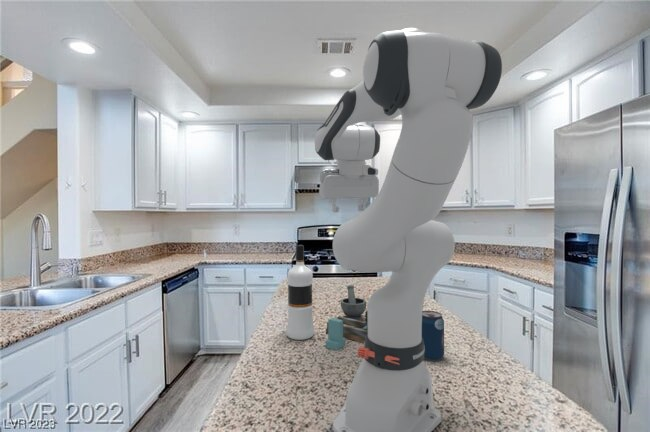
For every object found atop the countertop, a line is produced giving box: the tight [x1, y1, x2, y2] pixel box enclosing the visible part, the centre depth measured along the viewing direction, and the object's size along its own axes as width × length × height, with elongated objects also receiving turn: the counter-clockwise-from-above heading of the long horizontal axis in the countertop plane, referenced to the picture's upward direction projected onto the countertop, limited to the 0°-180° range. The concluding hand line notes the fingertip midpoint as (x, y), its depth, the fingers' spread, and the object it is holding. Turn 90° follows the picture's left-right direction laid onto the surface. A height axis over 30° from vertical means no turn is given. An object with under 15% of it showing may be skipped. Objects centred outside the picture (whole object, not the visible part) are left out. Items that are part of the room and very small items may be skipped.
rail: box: [325, 310, 368, 344], centre depth 103 cm, size 18×9×10 cm, turn 56°
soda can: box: [422, 310, 445, 362], centre depth 87 cm, size 7×7×12 cm
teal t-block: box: [325, 317, 347, 351], centre depth 94 cm, size 5×4×8 cm
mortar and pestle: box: [340, 284, 367, 321], centre depth 120 cm, size 11×9×12 cm
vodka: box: [285, 244, 315, 341], centre depth 103 cm, size 9×9×30 cm
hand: (348, 211), depth 102 cm, fingers open, 8 cm apart
